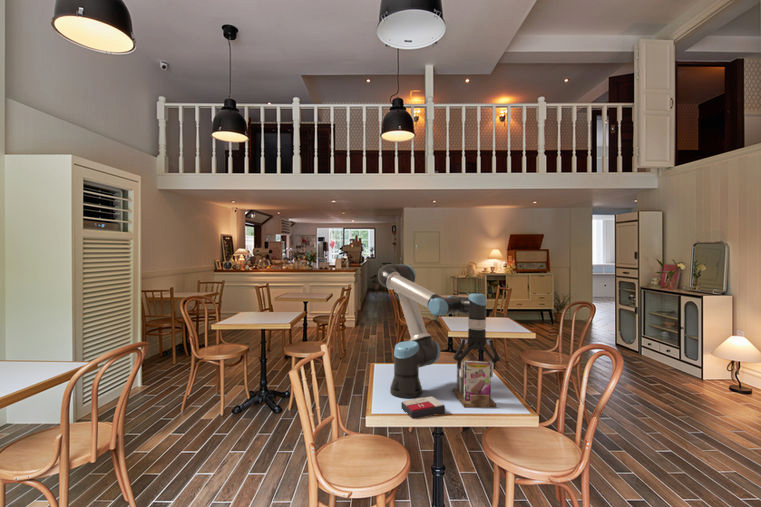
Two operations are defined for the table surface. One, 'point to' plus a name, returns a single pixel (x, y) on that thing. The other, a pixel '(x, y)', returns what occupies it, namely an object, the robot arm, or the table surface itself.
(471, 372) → the candy bar box
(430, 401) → the black red box
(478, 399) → the book rack
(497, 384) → the table surface
